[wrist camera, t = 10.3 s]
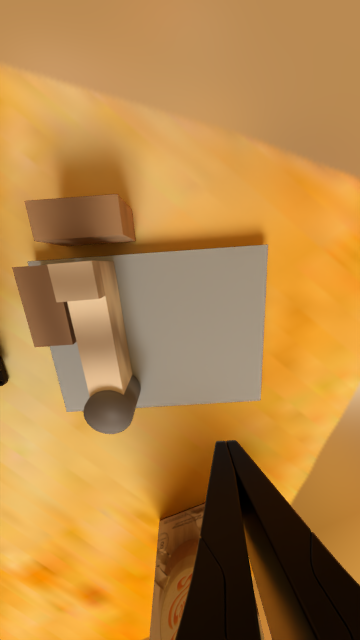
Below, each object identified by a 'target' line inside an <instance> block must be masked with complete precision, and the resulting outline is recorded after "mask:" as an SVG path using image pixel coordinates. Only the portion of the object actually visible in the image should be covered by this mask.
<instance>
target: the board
mask: <svg viewBox="0 0 360 640" xmlns="http://www.w3.org/2000/svg"><path fill="white" fill-rule="evenodd" d="M267 256H268V245H255V246H240V247H226V248H212V249H198V250H184V251H170V252H155V253H141V254H127V255H113V256H99V257H85V258H70V259H56V260H42V261H28V265H29V266H40V265H47V264H58V263H70V262H81V261H114V265H115V271H116V277H117V283H118V290H119V296H120V302H121V308H122V314H123V320H124V326H125V332H126V338H127V344H128V350H129V356H130V363H131V369H132V374H133V375H134V376H135V377H136V378H137V379H138V381H139V383H140V386H141V391H140V395H139V398H138V402H137V405H136V408H141V407H158V406H175V405H192V404H209V403H225V402H242V401H259V400H261V379H262V358H263V338H264V317H265V297H266V276H267ZM50 349H51V353H52V357H53V361H54V365H55V368H56V372H57V376H58V380H59V384H60V388H61V391H62V395H63V399H64V403H65V407H66V410H67V412H73V411H84V406H85V404H86V402H87V401H88V399H89V398H90V396H89V392H88V388H87V383H86V379H85V375H84V371H83V366H82V362H81V358H80V354H79V350H78V345H77V342H76V343H74V344H73V345H60V346H50Z"/></svg>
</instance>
